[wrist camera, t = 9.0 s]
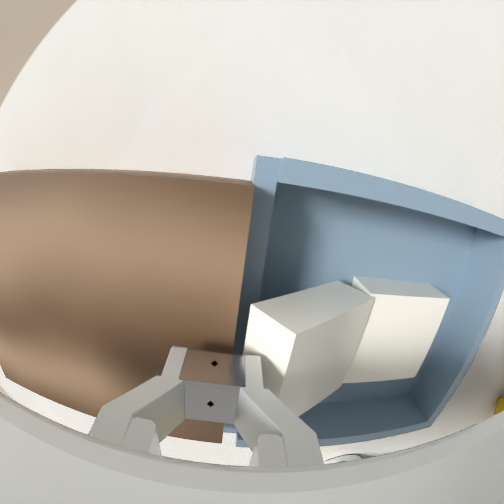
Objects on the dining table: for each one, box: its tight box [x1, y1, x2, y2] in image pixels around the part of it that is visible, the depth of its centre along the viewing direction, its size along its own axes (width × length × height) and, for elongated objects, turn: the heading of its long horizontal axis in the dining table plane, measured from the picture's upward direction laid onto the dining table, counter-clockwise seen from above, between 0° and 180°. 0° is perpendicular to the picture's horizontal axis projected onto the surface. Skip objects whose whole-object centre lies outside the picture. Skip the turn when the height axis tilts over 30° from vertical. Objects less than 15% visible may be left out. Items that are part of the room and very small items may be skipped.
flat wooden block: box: [0, 169, 255, 443], centre depth 11 cm, size 12×14×4 cm
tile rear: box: [343, 276, 450, 383], centre depth 13 cm, size 5×5×2 cm
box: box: [223, 155, 504, 447], centre depth 12 cm, size 14×14×4 cm
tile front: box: [243, 280, 375, 416], centre depth 10 cm, size 5×5×2 cm
